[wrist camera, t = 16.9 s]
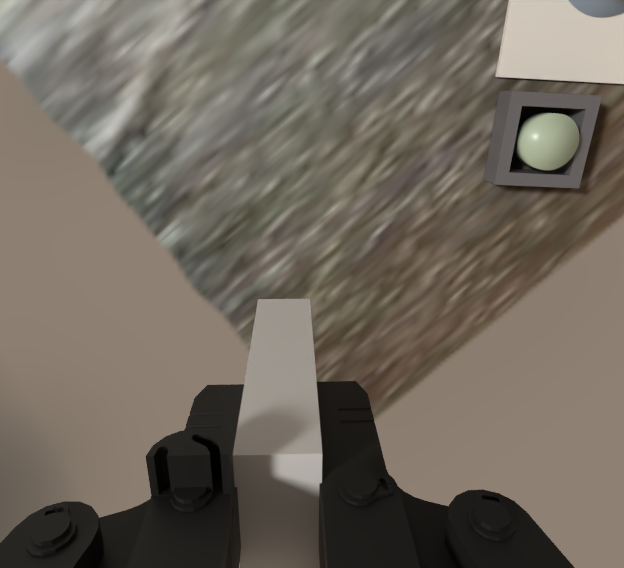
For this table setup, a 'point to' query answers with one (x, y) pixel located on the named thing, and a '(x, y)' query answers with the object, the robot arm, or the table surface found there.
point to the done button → (546, 140)
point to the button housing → (505, 132)
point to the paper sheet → (563, 41)
